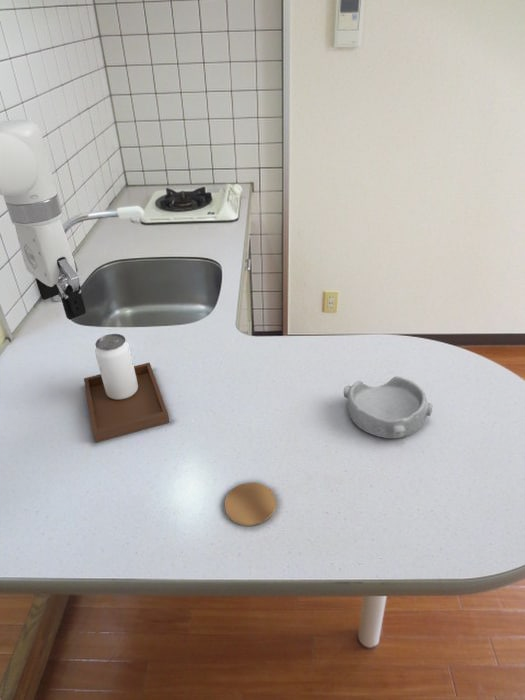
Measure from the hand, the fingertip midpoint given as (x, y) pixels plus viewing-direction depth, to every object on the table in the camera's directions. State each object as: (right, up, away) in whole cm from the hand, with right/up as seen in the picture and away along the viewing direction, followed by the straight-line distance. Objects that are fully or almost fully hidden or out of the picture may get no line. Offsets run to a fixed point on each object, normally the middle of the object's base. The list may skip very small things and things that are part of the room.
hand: (63, 306), depth 90 cm
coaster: (+32, -32, -8) cm, 46 cm away
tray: (+7, -18, +14) cm, 24 cm away
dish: (+57, -20, +8) cm, 61 cm away
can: (+6, -16, +17) cm, 24 cm away
